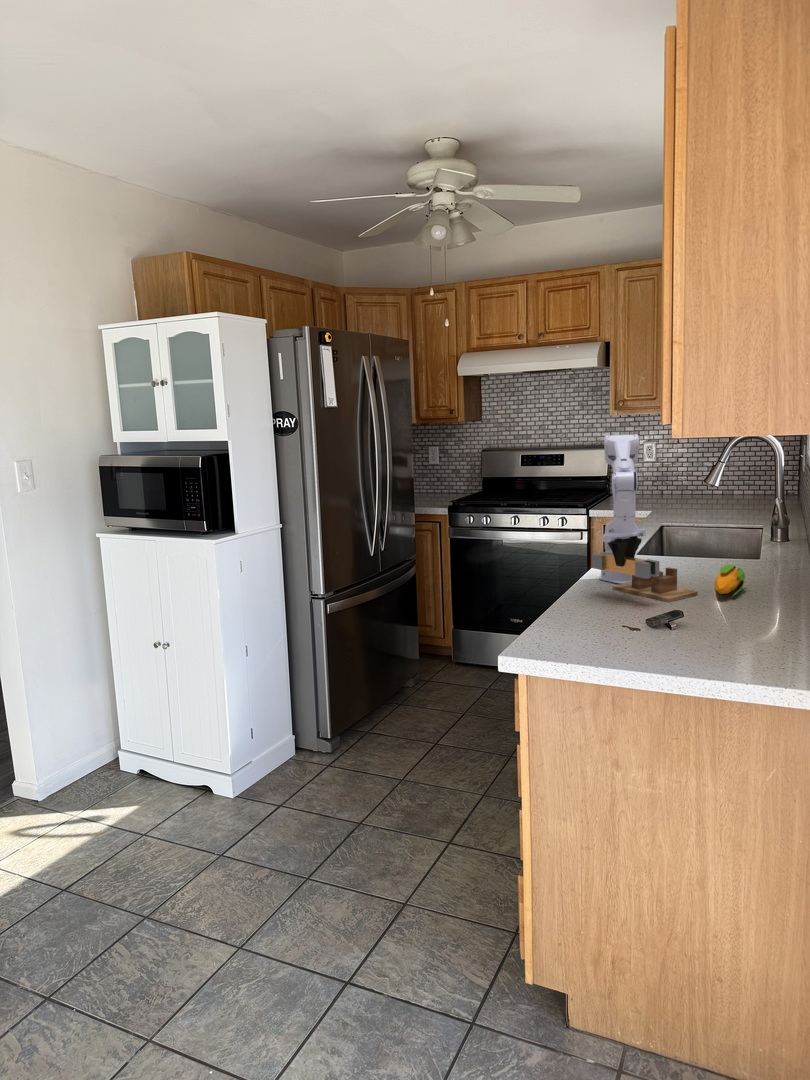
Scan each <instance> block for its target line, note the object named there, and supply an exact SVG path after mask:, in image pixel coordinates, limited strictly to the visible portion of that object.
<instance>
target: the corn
mask: <svg viewBox="0 0 810 1080" xmlns="http://www.w3.org/2000/svg"><path fill="white" fill-rule="evenodd" d="M736 567H737V566H736V565H734V564H726V565H724V566H722V567H721V568H720V569H719V570H720V571H719V573H718V575H717V576H716V578H715V580H714V581H713V582H714V583H713V584H714V588H713V590H714V592H715V593H716V594H718V595H727V594H730V593H731V592H732V591H735V590H736V591H735V593H733V595H732V596H731V597H732V598H733V597H734V596H736V595H737V594H738V593H740V591H741V590H742V589H743V587H744V584H745V580H746V574H745V571H744V570H743V569H742V567H738V569H737V568H736Z"/></svg>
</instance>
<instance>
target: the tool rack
mask: <svg viewBox="0 0 810 1080" xmlns="http://www.w3.org/2000/svg"><path fill="white" fill-rule="evenodd" d="M613 590H614V591H618V592H621V593H622V592H623V593H626V594H631V595H635V596H640V597H644V598H649V599H653V600H657V601H661V602H665V603H671V602H675V601H679V600H683V599H688V598H692V597H695V596H698V595H699V591H698V590H697V591H696V590H694V589H693V590H692V589H687V588H683V587H678V568H674V567H670V566H669V567H665V574H664V571H660V570H659V576H657V577H653V576H651V578H648V579H645V578H640V577H635V575H632V582H629V583H624V584H615V585H613V586H612V591H613Z"/></svg>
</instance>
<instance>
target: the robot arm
mask: <svg viewBox="0 0 810 1080" xmlns="http://www.w3.org/2000/svg"><path fill="white" fill-rule="evenodd" d="M603 438H604V441H603V442H604V445H603V447H604V449H603V450H604V460H605V463H606V464H607V465H610V466H611V468H612V474H611V491H612V499H613V519H612V520H610V522H608V523H607V524H605V526H604V534H602V542H603V543H604V550H605V551H604V552H608V553H613V555H614V559H615V563H616V566H621V567H622V566H623V565H624V556H626V557H632V558H636V553H637V551H638V550H639V546H640V545H641V543H642V537H646V533H647V531H646V530H647V529H646V528H639V527H638V525H637V523H636V499H637V498H636V493H637V491H638V485H639V483H638V478H639V477H638V473H637V470H635V464H636V463H637V462H638V457H639V452H640V436H639V435H638V433H635V434H616V435H615V434H613V435H612V434H611V435H609V434H606V435H604V437H603ZM640 537H641V538H640ZM600 572H601V573H600V577H599V578H598V579H599V580H600V581H604V582H610V583H615V584H617V585H620V584H624V583H629V582H632V575H630V574H625V573H620V572H615V571H609V570H600Z"/></svg>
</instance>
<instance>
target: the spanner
mask: <svg viewBox="0 0 810 1080" xmlns="http://www.w3.org/2000/svg"><path fill="white" fill-rule="evenodd" d="M591 569H594V570H600V571H601V570H609V571H615V572H620V573H625V574H630V575H635V577H640V578H645V579H648V578H651V576H653V577H657V576H659V571H660V560H654V559H649V558H647V559H644V558H639V557H634V558H632V557H626V556H624V565H623V566H622V567H621V566H616V563H615V559H614V555H613V553H608V552H605V551H602V552H600V553H591Z"/></svg>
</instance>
